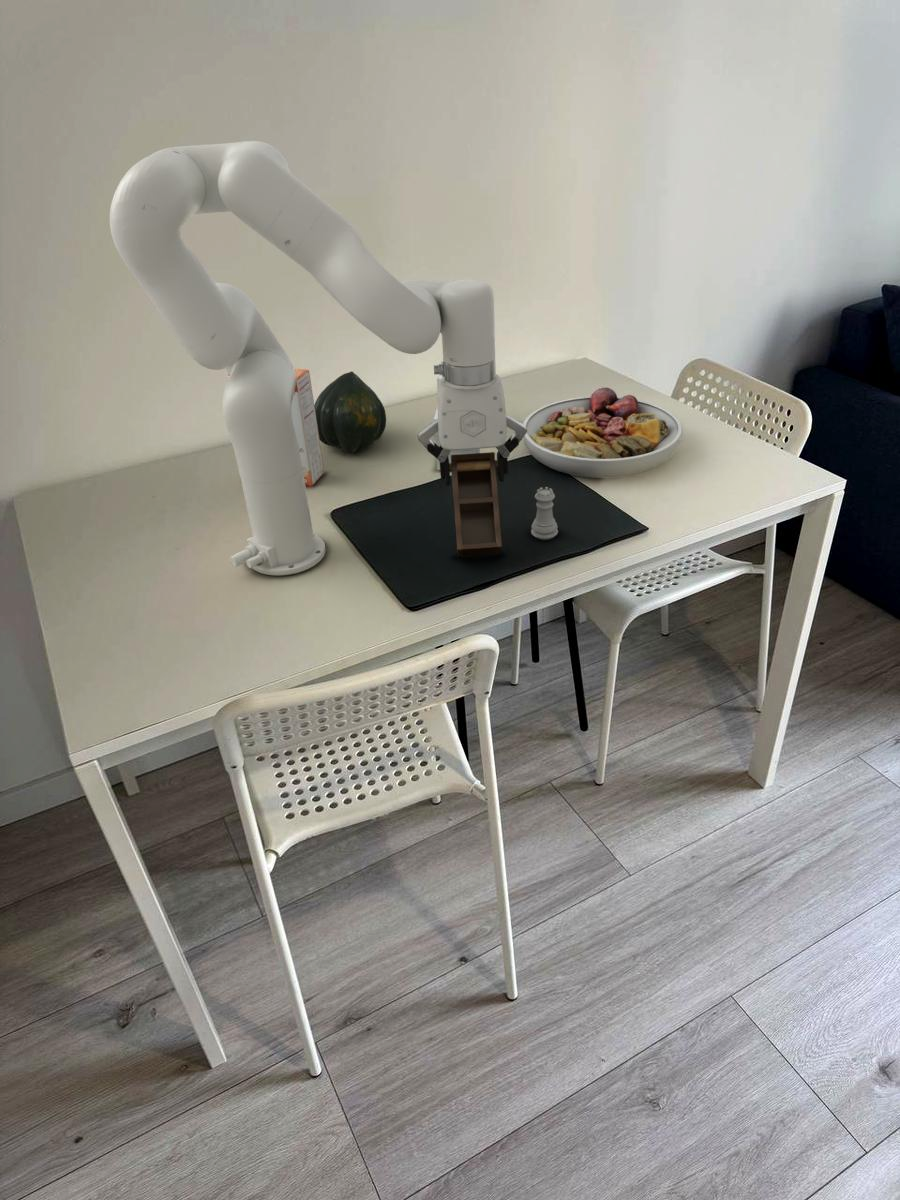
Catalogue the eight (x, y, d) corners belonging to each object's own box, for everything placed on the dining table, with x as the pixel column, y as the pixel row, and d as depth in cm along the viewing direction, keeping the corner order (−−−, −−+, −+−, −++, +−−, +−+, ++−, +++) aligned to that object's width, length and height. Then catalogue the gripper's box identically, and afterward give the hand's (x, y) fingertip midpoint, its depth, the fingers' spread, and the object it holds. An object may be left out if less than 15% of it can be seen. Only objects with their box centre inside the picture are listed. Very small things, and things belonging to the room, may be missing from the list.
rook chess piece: (536, 542, 141) (536, 499, 136) (527, 529, 144) (526, 487, 140) (562, 537, 142) (563, 494, 137) (552, 525, 145) (552, 482, 141)
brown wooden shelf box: (448, 466, 140) (448, 455, 134) (495, 463, 140) (497, 451, 134) (454, 557, 138) (454, 549, 132) (502, 553, 138) (504, 546, 132)
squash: (313, 443, 165) (355, 374, 162) (291, 419, 176) (329, 355, 174) (371, 475, 173) (411, 411, 170) (346, 451, 185) (383, 390, 182)
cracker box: (245, 481, 165) (223, 375, 153) (260, 467, 170) (240, 363, 158) (312, 488, 161) (295, 379, 149) (325, 473, 166) (309, 367, 154)
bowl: (684, 487, 154) (689, 446, 149) (515, 483, 158) (515, 444, 154) (675, 419, 178) (678, 382, 173) (528, 418, 183) (528, 382, 178)
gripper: (410, 384, 122) (419, 495, 132) (532, 375, 123) (532, 486, 133) (409, 366, 128) (418, 473, 138) (526, 357, 129) (526, 465, 139)
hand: (474, 479), depth 135 cm, fingers closed on brown wooden shelf box, 7 cm apart
